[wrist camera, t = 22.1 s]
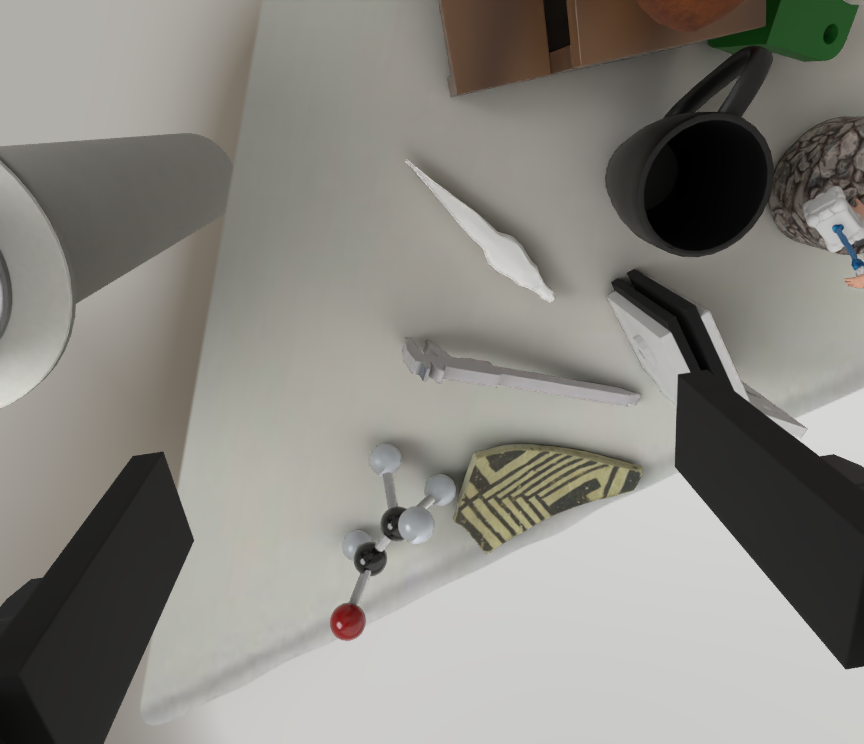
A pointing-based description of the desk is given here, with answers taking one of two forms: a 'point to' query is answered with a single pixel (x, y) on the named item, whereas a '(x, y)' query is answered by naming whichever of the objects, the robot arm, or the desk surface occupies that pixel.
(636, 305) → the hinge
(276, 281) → the desk surface
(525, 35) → the step shelf
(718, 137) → the mug
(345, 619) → the molecular model
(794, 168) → the figurine
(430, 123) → the desk surface
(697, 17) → the potato
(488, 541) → the pottery shard
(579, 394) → the caliper
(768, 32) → the clamp
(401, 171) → the desk surface
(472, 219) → the white tapered spike
